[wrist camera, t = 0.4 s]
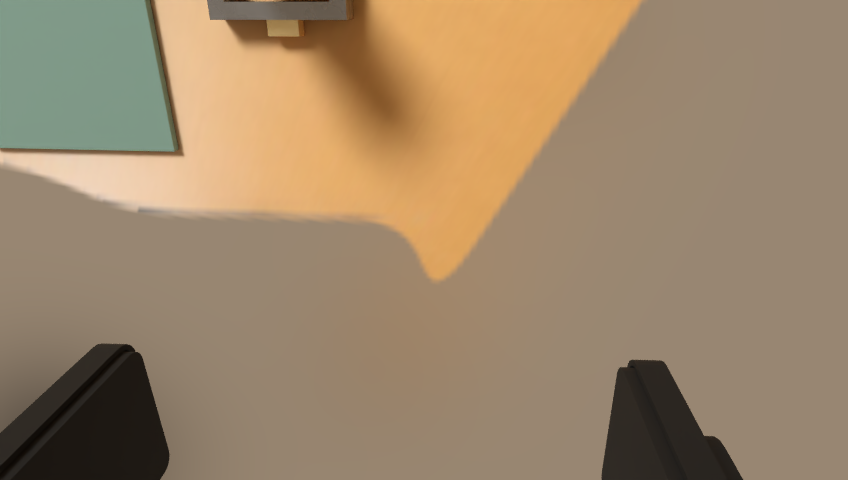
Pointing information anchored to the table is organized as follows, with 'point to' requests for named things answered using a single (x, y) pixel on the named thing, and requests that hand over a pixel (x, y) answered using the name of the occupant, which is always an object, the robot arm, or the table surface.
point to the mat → (82, 77)
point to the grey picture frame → (281, 13)
